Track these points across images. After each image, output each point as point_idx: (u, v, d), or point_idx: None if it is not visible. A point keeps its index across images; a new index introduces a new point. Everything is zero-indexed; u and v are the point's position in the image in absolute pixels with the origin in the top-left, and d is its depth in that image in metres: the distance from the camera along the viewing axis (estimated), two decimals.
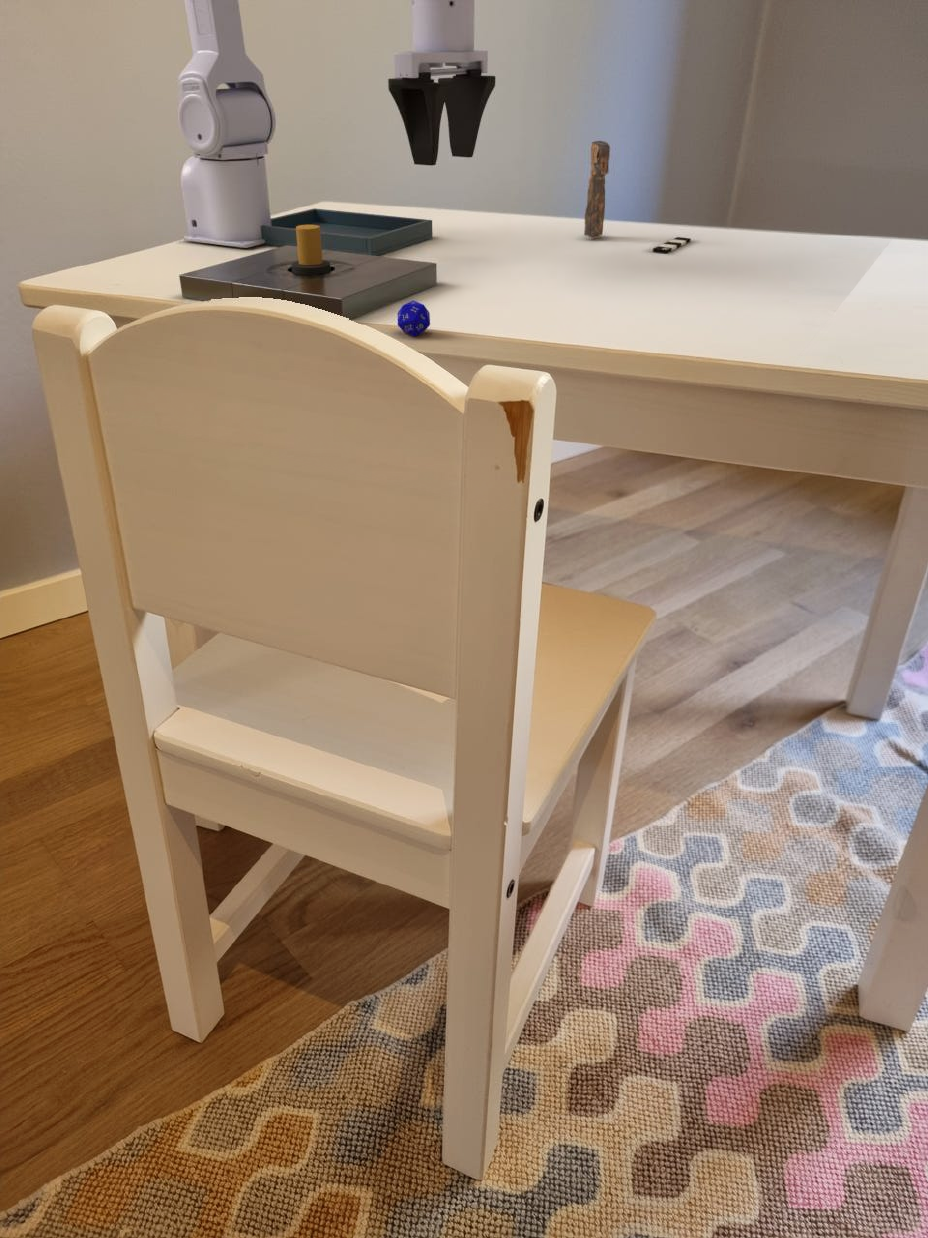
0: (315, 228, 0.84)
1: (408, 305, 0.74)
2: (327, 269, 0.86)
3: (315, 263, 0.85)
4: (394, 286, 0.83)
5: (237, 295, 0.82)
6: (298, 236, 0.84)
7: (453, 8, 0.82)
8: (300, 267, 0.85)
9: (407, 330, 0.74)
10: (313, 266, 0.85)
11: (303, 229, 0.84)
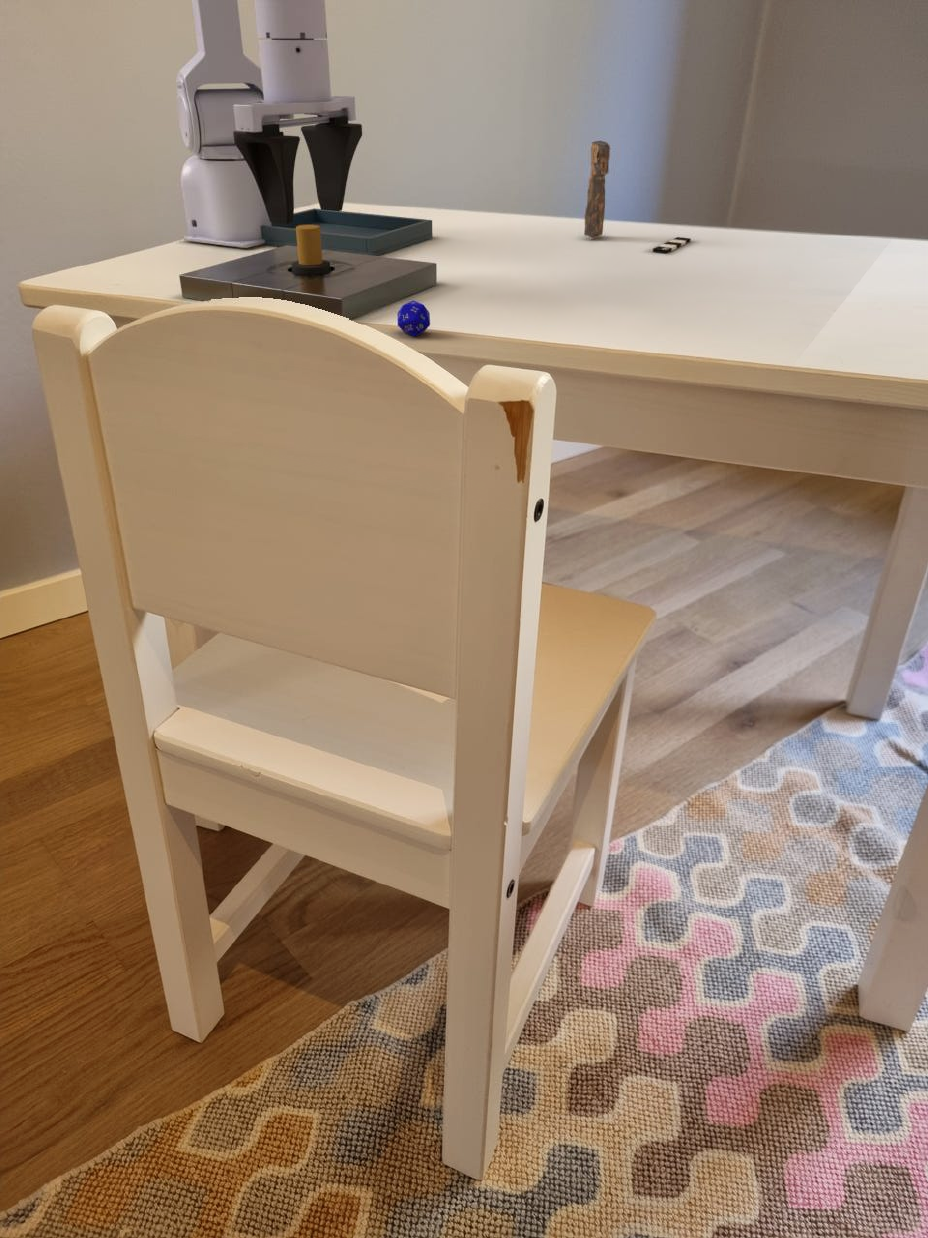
0: (315, 228, 0.84)
1: (408, 305, 0.74)
2: (327, 269, 0.86)
3: (315, 263, 0.85)
4: (394, 286, 0.83)
5: (237, 295, 0.82)
6: (298, 236, 0.84)
7: (300, 55, 0.75)
8: (300, 267, 0.85)
9: (407, 330, 0.74)
10: (313, 266, 0.85)
11: (303, 229, 0.84)
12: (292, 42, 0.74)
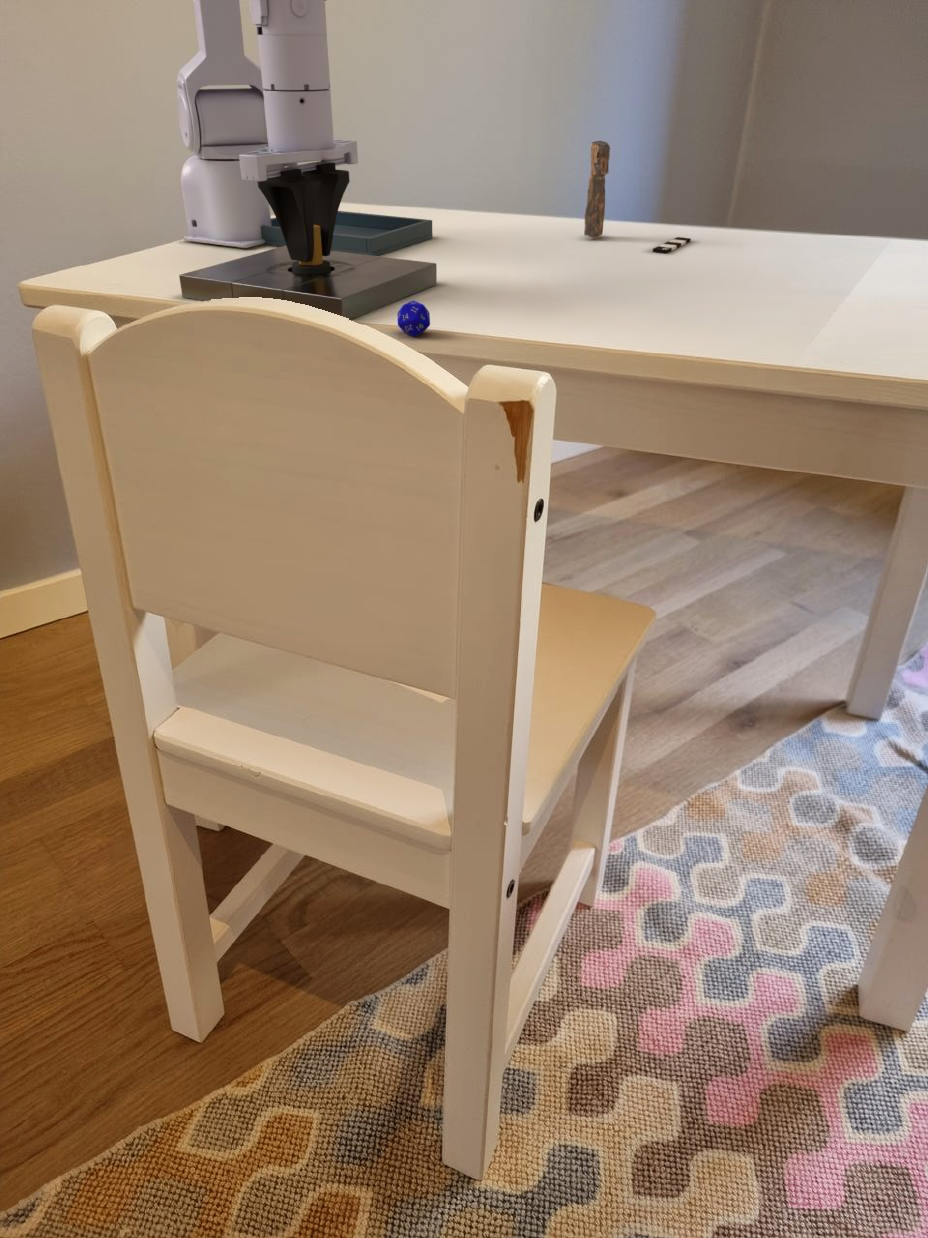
0: (315, 228, 0.84)
1: (408, 305, 0.74)
2: (327, 269, 0.86)
3: (315, 263, 0.85)
4: (394, 286, 0.83)
5: (237, 295, 0.82)
6: None
7: (304, 106, 0.77)
8: (300, 267, 0.85)
9: (407, 330, 0.74)
10: (314, 266, 0.85)
11: None
12: (296, 94, 0.76)
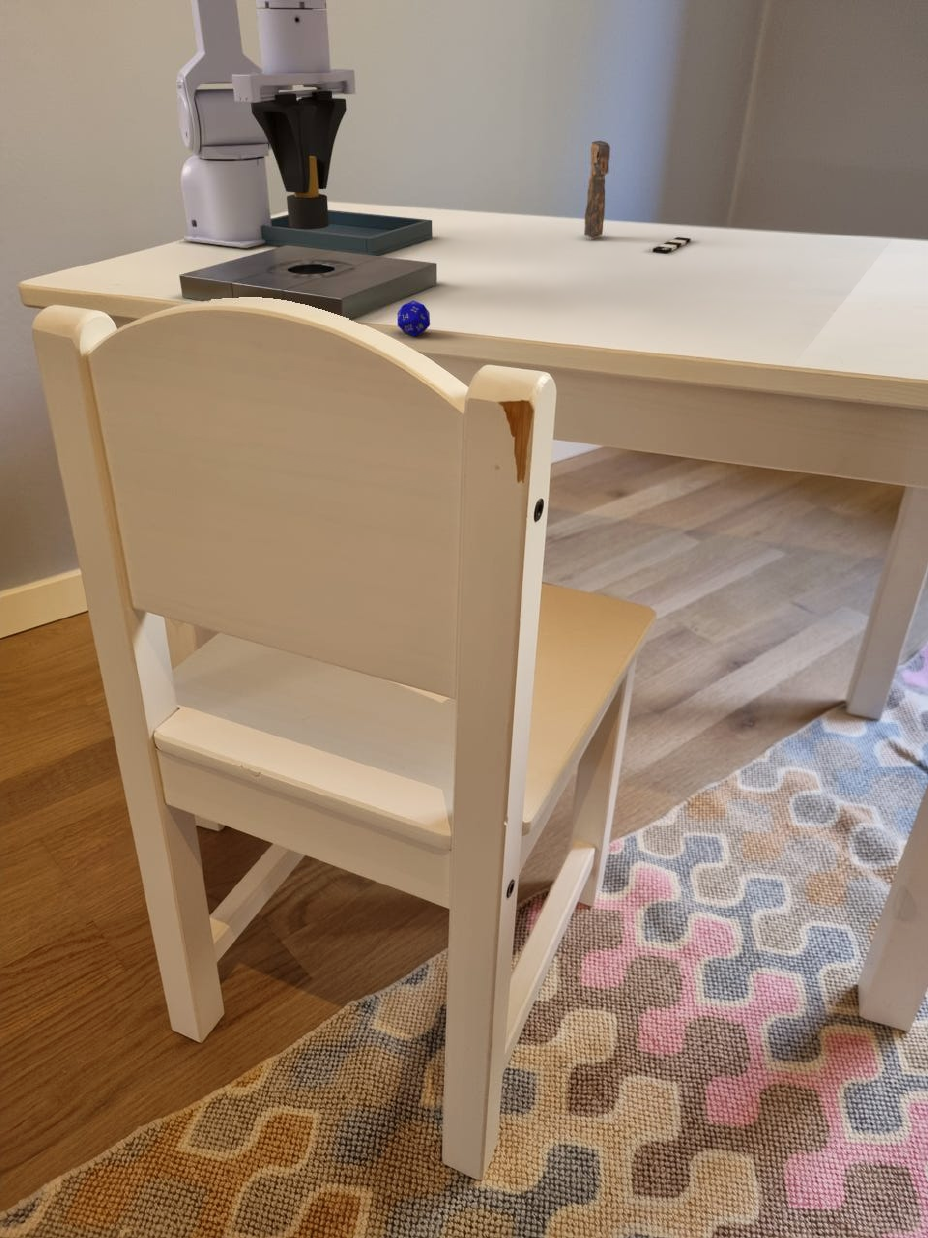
0: (311, 158, 0.81)
1: (408, 305, 0.74)
2: (324, 202, 0.83)
3: (311, 195, 0.83)
4: (394, 286, 0.83)
5: (237, 295, 0.82)
6: None
7: (299, 25, 0.74)
8: (296, 199, 0.82)
9: (407, 330, 0.74)
10: (310, 198, 0.82)
11: None
12: (291, 12, 0.74)
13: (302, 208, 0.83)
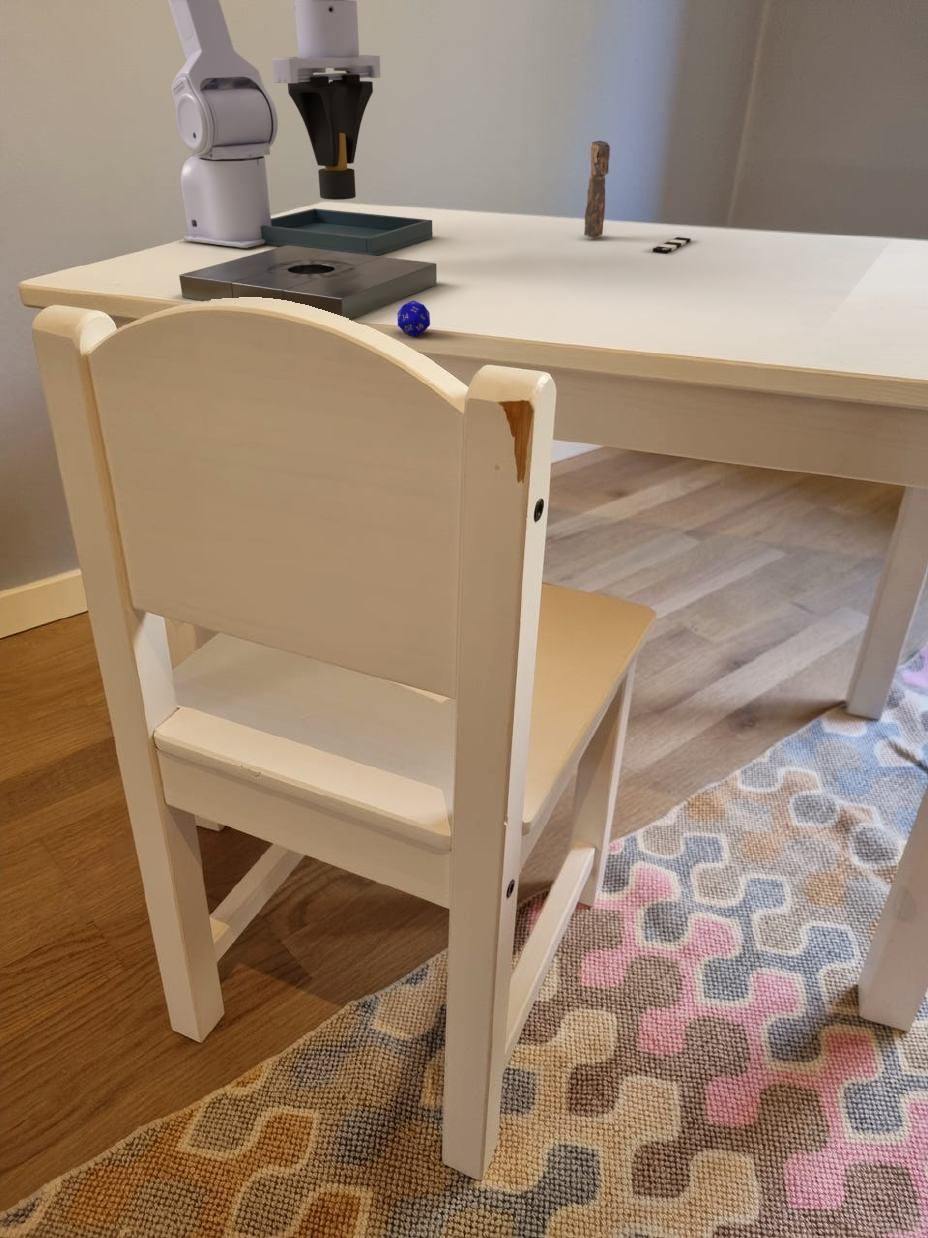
0: (341, 135, 0.90)
1: (408, 305, 0.74)
2: (352, 175, 0.92)
3: (340, 169, 0.92)
4: (394, 286, 0.83)
5: (237, 295, 0.82)
6: None
7: (332, 14, 0.83)
8: (326, 172, 0.91)
9: (407, 330, 0.74)
10: (339, 171, 0.91)
11: None
12: (326, 2, 0.83)
13: (332, 181, 0.91)
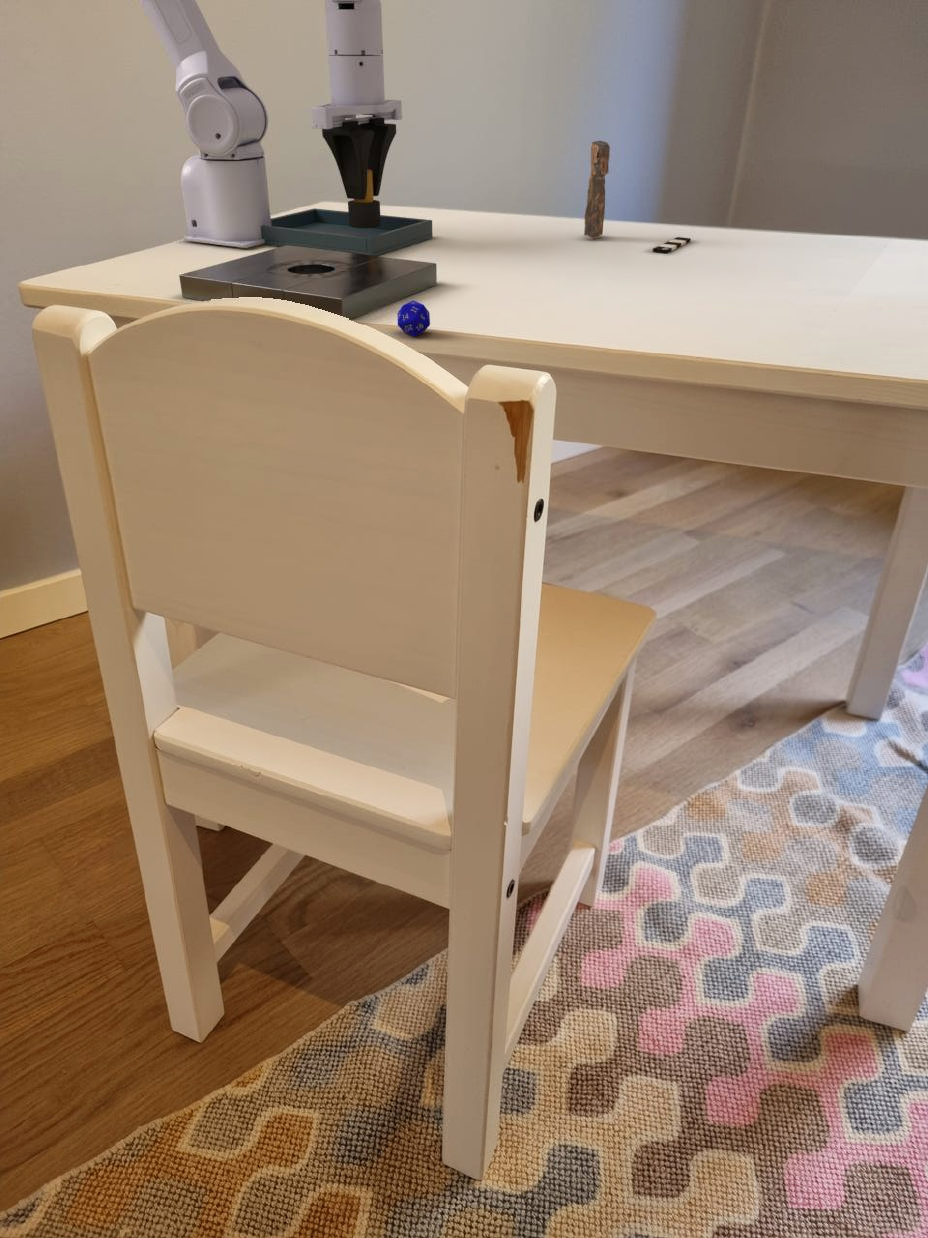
0: (368, 171, 1.02)
1: (408, 305, 0.74)
2: (378, 206, 1.03)
3: (368, 201, 1.03)
4: (394, 286, 0.83)
5: (237, 295, 0.82)
6: None
7: (363, 68, 0.95)
8: (355, 204, 1.03)
9: (407, 330, 0.74)
10: (367, 203, 1.03)
11: None
12: (357, 57, 0.94)
13: (360, 211, 1.03)
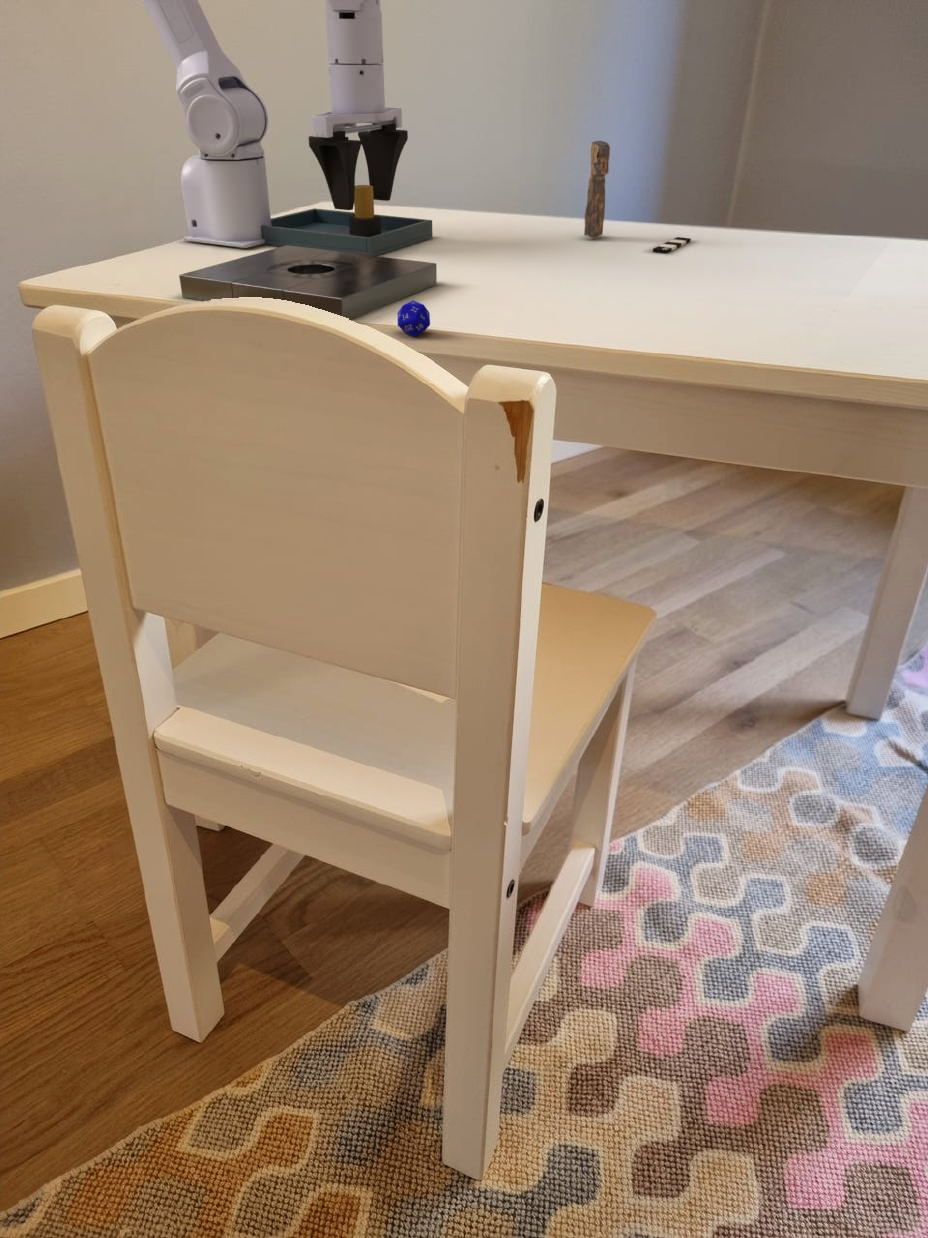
0: (369, 187, 1.02)
1: (408, 305, 0.74)
2: (378, 221, 1.04)
3: (368, 216, 1.04)
4: (394, 286, 0.83)
5: (237, 295, 0.82)
6: (355, 194, 1.03)
7: (363, 76, 0.95)
8: (356, 219, 1.03)
9: (407, 330, 0.74)
10: (367, 219, 1.03)
11: (360, 188, 1.02)
12: (357, 66, 0.94)
13: (361, 227, 1.04)
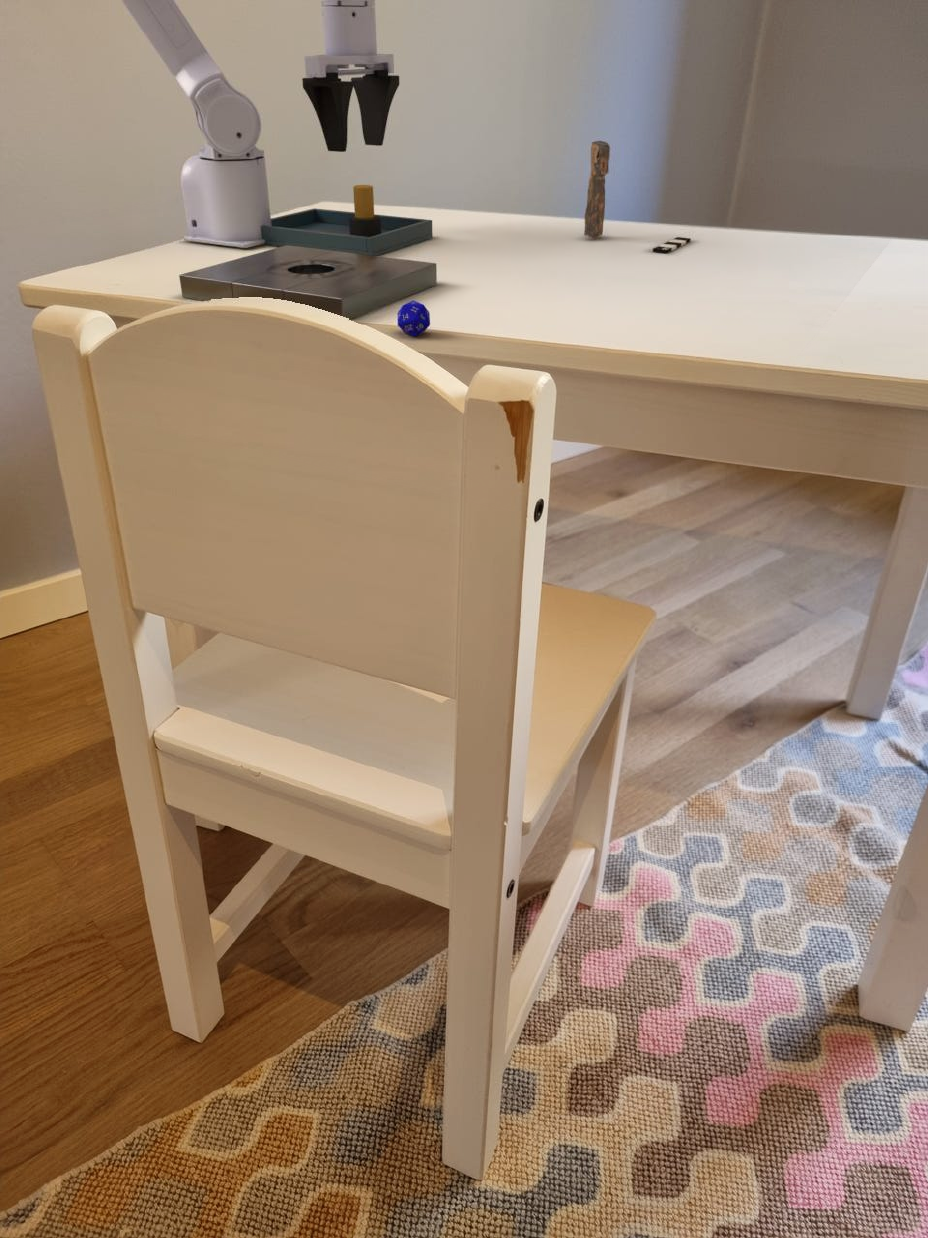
0: (369, 187, 1.02)
1: (408, 305, 0.74)
2: (378, 221, 1.04)
3: (368, 216, 1.04)
4: (394, 286, 0.83)
5: (237, 295, 0.82)
6: (355, 194, 1.03)
7: (355, 18, 0.98)
8: (356, 219, 1.03)
9: (407, 330, 0.74)
10: (367, 219, 1.03)
11: (360, 188, 1.02)
12: (349, 8, 0.97)
13: (361, 227, 1.04)
